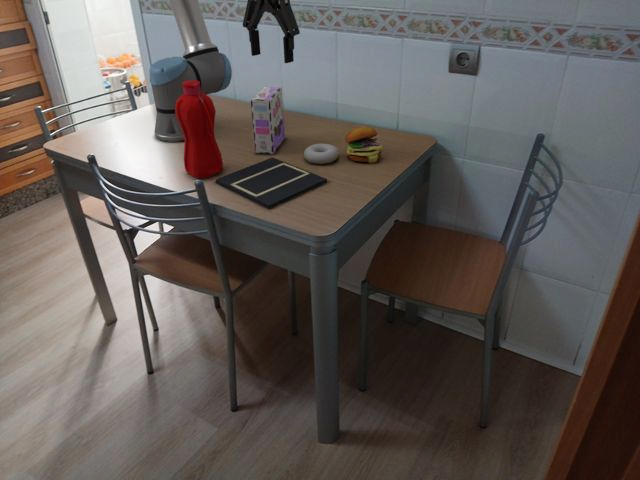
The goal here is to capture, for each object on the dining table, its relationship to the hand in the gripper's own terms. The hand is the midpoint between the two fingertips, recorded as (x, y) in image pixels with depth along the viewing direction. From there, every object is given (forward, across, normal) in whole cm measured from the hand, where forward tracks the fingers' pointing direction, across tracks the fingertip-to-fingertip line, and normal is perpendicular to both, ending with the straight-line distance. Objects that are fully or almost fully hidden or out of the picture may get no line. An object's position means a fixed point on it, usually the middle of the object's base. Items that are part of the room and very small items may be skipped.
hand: (272, 58), depth 144 cm
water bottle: (+27, -2, -25) cm, 37 cm away
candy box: (+27, -3, 0) cm, 27 cm away
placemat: (+26, +16, -18) cm, 36 cm away
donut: (+27, +16, +3) cm, 31 cm away
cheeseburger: (+26, +24, +11) cm, 37 cm away
